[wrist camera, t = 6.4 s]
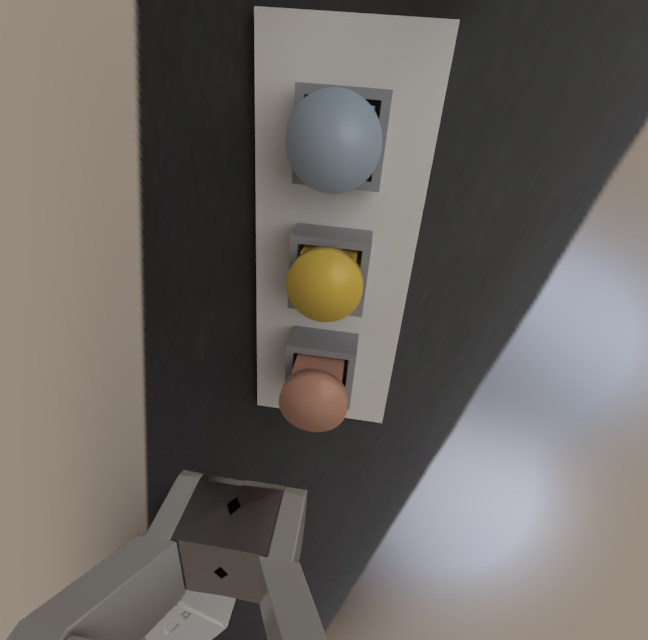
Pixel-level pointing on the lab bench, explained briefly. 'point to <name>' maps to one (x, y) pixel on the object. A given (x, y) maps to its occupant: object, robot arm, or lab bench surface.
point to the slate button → (333, 140)
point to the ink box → (194, 618)
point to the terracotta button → (314, 393)
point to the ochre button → (325, 283)
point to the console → (350, 207)
